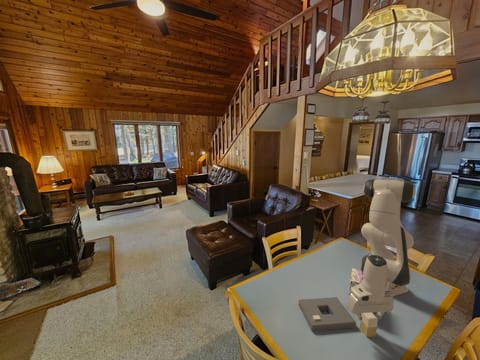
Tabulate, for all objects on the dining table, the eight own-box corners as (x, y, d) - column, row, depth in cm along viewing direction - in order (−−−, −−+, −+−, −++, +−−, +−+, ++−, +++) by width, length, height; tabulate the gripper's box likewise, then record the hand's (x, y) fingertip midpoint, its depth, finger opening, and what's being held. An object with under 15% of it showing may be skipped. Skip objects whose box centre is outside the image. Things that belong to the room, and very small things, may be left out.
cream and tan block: (368, 327, 97) (370, 311, 96) (375, 336, 93) (377, 319, 91) (359, 328, 97) (361, 311, 95) (366, 337, 92) (368, 319, 91)
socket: (336, 301, 113) (336, 295, 112) (355, 327, 97) (356, 320, 97) (298, 304, 111) (298, 298, 110) (311, 330, 95) (312, 323, 94)
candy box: (359, 312, 106) (363, 284, 103) (347, 308, 109) (350, 280, 106) (360, 296, 117) (363, 270, 114) (349, 292, 120) (352, 267, 117)
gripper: (387, 286, 95) (383, 311, 97) (347, 287, 93) (343, 314, 95) (399, 295, 89) (395, 323, 91) (356, 297, 87) (352, 325, 89)
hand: (368, 318), depth 93 cm, fingers open, 8 cm apart
